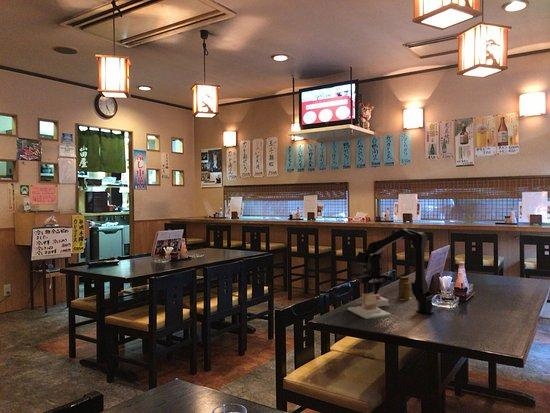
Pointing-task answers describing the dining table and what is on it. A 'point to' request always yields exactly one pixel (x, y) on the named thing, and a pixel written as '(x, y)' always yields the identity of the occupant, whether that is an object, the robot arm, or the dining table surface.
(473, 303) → the dining table surface
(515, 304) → the dining table surface
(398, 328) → the dining table surface
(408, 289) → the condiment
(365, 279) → the robot arm
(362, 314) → the tray
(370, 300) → the block
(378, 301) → the button housing
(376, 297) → the button
